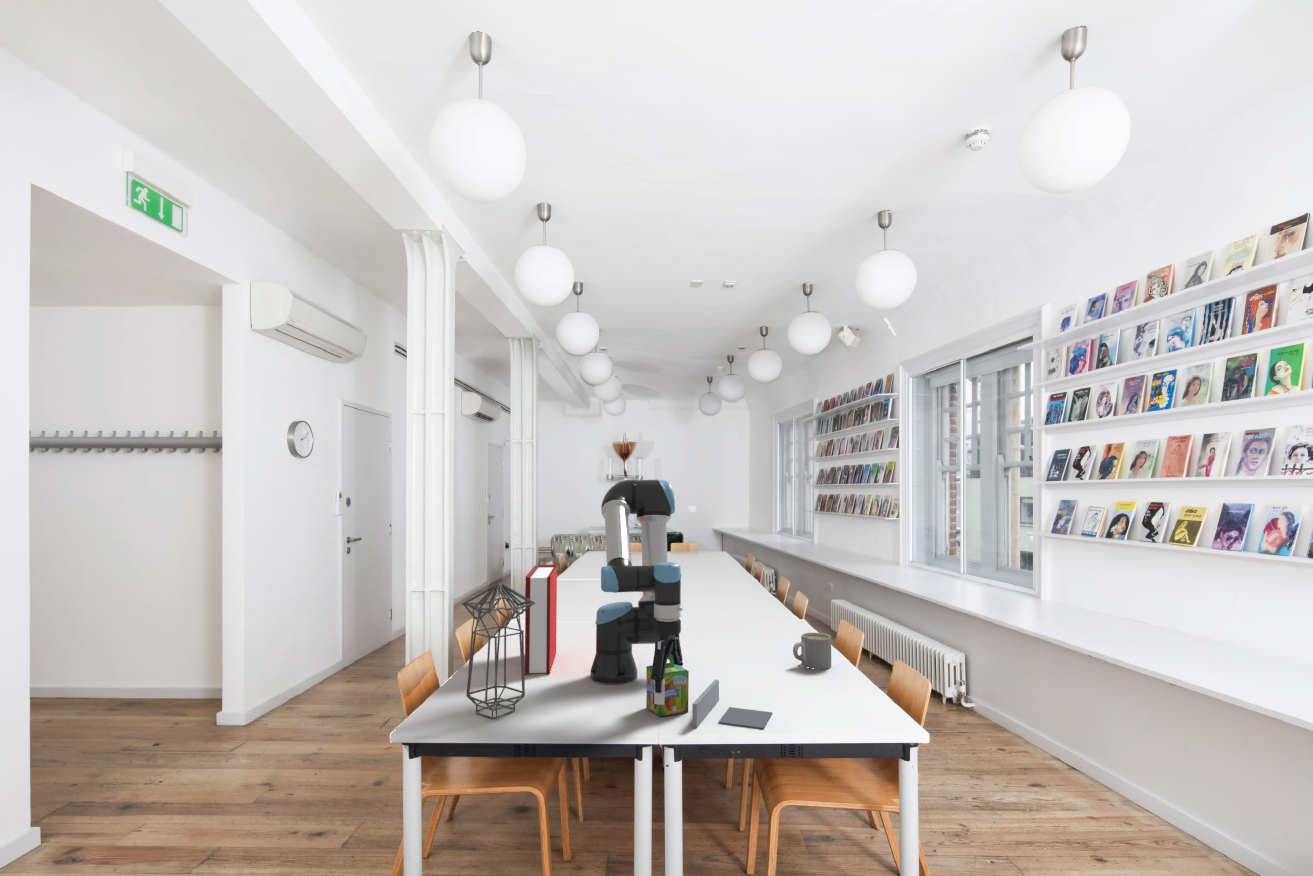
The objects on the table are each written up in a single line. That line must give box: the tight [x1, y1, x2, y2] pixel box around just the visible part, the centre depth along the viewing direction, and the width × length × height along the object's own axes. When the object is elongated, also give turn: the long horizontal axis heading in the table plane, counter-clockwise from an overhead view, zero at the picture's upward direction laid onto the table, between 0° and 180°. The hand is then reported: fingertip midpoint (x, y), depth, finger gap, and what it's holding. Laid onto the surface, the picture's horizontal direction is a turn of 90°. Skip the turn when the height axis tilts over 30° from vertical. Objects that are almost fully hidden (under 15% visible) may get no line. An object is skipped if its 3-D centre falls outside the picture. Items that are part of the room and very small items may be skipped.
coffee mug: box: [792, 632, 832, 670], centre depth 231 cm, size 13×10×10 cm
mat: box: [717, 706, 773, 730], centre depth 181 cm, size 12×12×1 cm
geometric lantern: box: [461, 583, 535, 720], centre depth 188 cm, size 16×16×35 cm
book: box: [524, 564, 558, 676], centre depth 234 cm, size 27×8×32 cm, turn 4°
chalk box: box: [645, 654, 690, 717], centre depth 188 cm, size 9×9×15 cm
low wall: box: [691, 679, 720, 729], centre depth 185 cm, size 1×22×6 cm, turn 160°
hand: (667, 696), depth 188 cm, fingers closed on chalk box, 12 cm apart
